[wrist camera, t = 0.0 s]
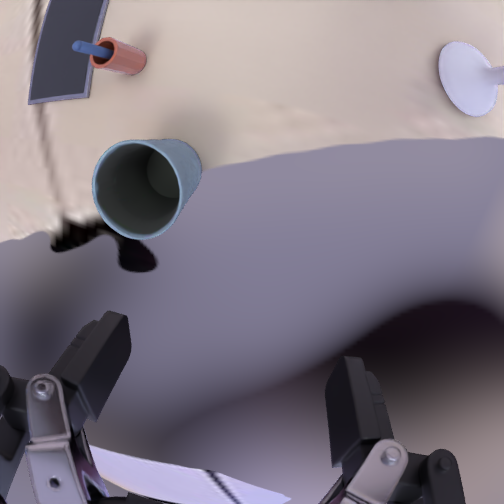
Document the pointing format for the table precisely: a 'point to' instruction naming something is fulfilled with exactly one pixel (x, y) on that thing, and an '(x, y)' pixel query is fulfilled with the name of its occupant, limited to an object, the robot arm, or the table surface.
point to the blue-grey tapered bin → (145, 185)
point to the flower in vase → (469, 78)
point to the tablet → (65, 50)
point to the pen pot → (119, 57)
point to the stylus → (92, 49)
